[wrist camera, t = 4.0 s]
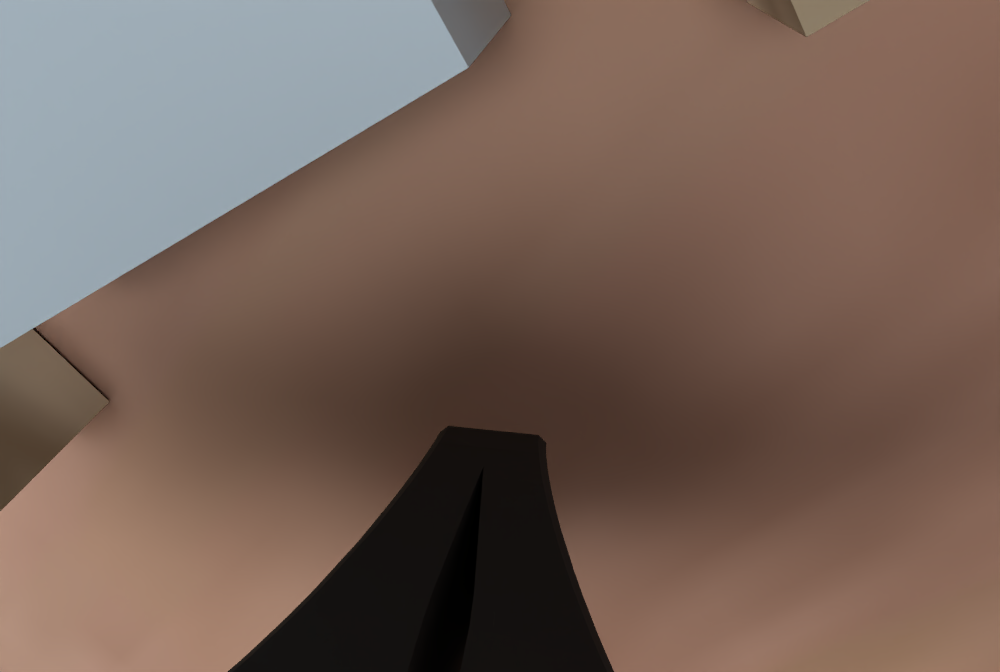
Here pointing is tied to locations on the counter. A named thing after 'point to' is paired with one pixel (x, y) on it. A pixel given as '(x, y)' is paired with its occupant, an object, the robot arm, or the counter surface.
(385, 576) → the robot arm
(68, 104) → the block
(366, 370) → the counter surface
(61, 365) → the channel
